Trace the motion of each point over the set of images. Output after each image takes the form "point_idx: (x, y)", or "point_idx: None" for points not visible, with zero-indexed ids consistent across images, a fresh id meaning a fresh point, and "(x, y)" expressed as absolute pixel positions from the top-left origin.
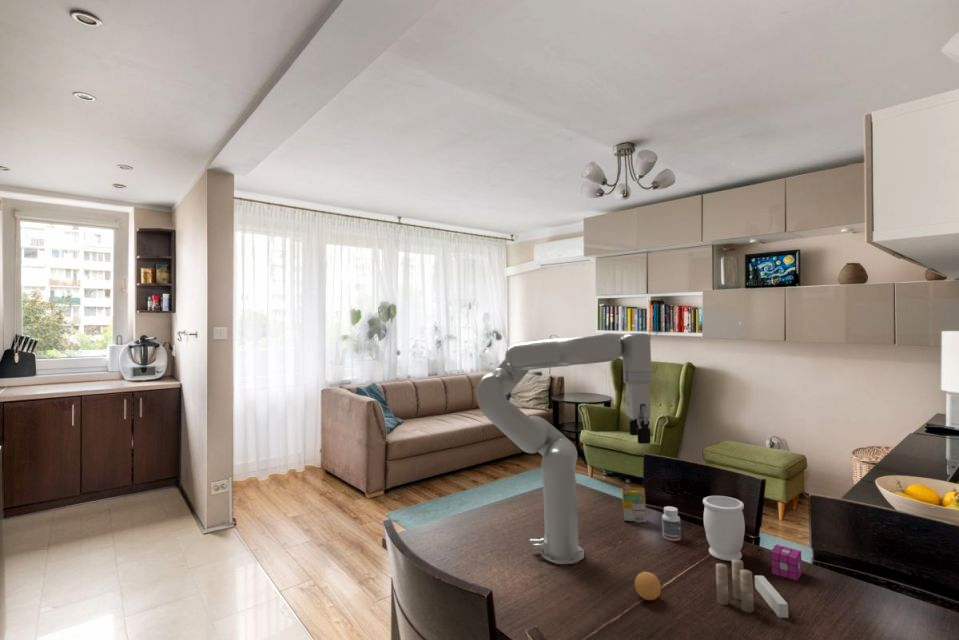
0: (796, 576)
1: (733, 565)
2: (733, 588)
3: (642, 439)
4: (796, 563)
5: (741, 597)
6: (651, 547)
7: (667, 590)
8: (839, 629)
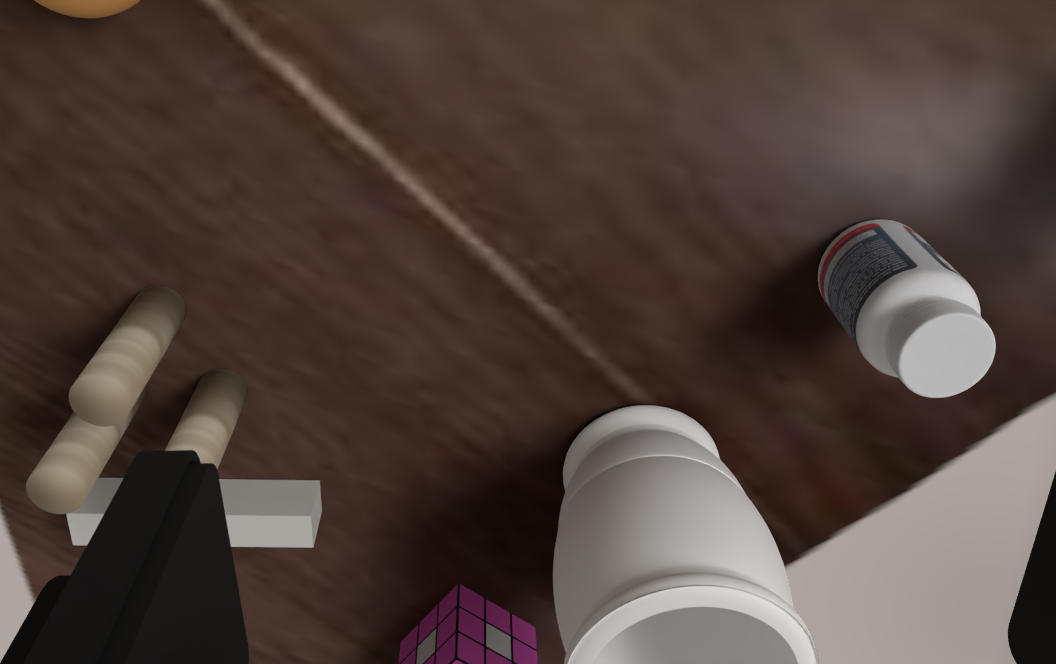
0: (399, 655)
1: None
2: (207, 389)
3: (51, 596)
4: None
5: None
6: (746, 107)
7: (220, 65)
8: None
